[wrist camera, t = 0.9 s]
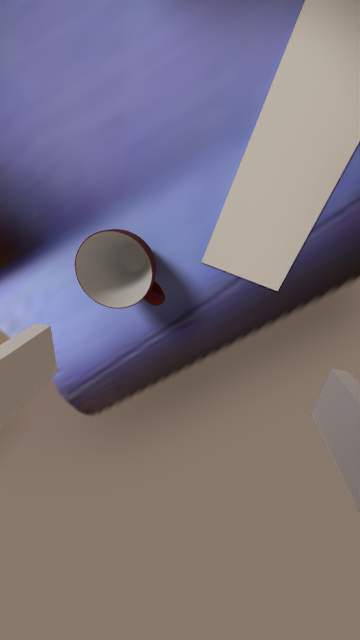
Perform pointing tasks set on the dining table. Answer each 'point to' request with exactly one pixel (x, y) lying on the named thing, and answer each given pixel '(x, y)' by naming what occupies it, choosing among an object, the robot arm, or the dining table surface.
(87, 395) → the dining table surface
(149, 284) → the mug
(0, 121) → the dining table surface
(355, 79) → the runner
